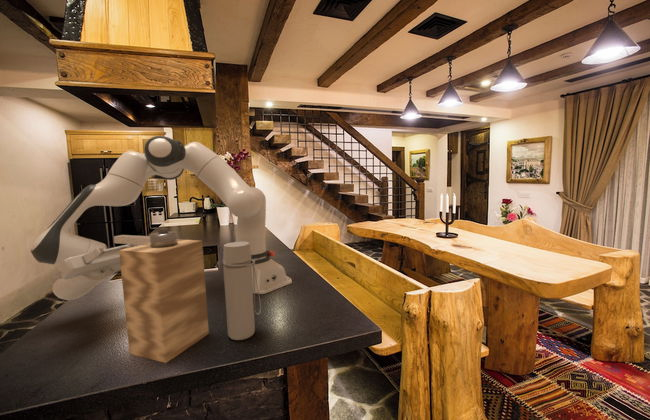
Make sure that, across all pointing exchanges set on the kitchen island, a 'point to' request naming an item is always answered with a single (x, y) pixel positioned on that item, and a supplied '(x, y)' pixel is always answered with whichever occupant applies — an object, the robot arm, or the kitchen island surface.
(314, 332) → the kitchen island surface
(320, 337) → the kitchen island surface
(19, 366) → the kitchen island surface
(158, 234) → the ratchet wrench
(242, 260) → the water bottle
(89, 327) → the kitchen island surface
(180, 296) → the wooden block
